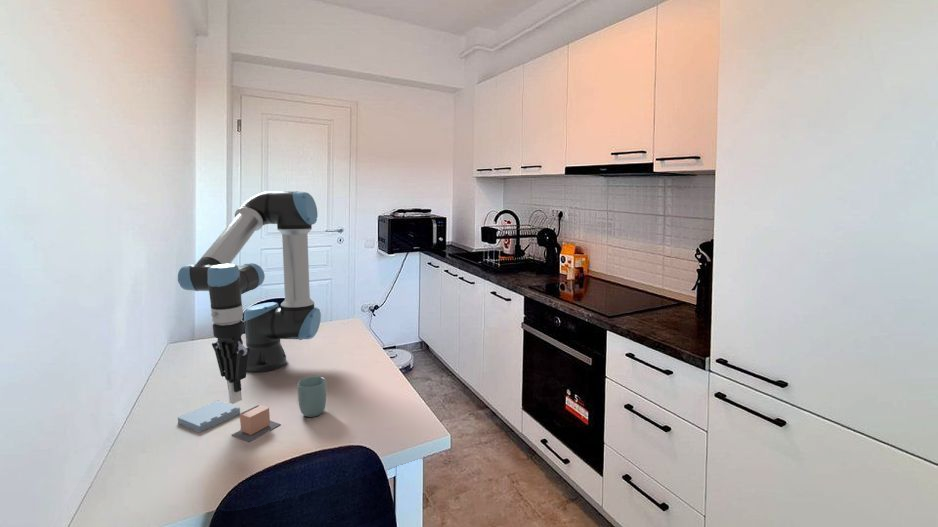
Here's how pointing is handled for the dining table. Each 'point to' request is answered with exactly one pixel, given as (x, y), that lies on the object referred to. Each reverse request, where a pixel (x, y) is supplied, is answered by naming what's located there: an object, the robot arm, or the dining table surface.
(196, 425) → the board
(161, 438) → the dining table surface
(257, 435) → the mat
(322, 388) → the cup
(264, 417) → the stub
